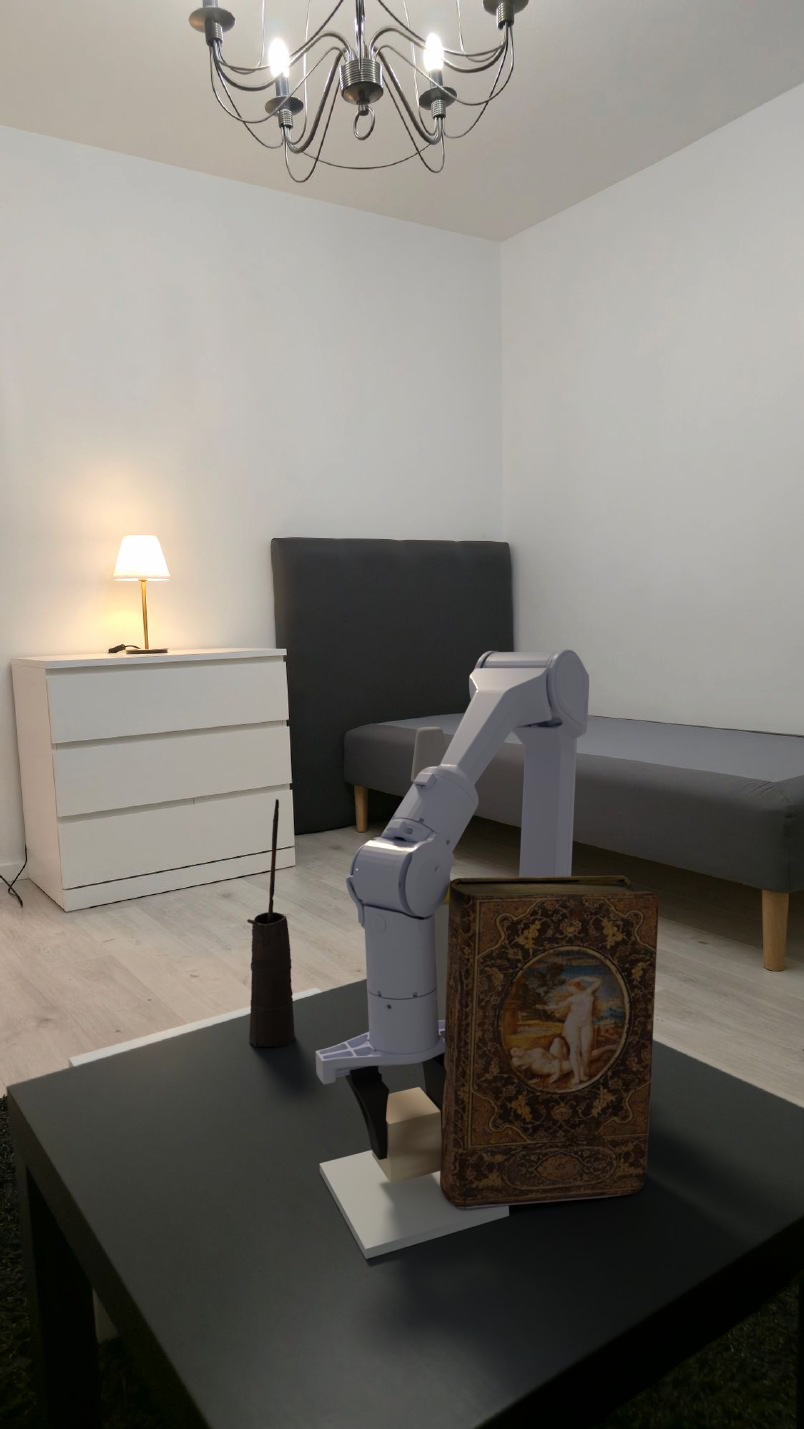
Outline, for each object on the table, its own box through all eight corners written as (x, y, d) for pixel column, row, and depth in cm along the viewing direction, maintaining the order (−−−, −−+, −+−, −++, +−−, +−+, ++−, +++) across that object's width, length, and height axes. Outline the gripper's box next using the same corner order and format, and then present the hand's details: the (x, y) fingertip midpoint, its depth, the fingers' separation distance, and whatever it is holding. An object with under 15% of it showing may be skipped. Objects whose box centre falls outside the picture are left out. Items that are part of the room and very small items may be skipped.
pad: (446, 1139, 83) (445, 1131, 83) (509, 1215, 72) (508, 1206, 72) (319, 1172, 78) (319, 1163, 78) (365, 1259, 67) (365, 1249, 67)
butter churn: (239, 1069, 98) (225, 813, 95) (214, 1036, 106) (200, 800, 104) (318, 1049, 102) (306, 803, 99) (288, 1018, 110) (277, 791, 108)
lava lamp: (492, 1012, 110) (483, 725, 107) (443, 1038, 104) (432, 733, 100) (436, 993, 116) (426, 722, 113) (386, 1017, 110) (375, 729, 107)
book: (448, 1210, 71) (459, 896, 69) (434, 1170, 76) (443, 878, 74) (645, 1194, 74) (660, 892, 72) (618, 1157, 79) (631, 875, 77)
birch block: (421, 1142, 78) (419, 1086, 78) (442, 1170, 74) (440, 1111, 74) (372, 1155, 77) (369, 1098, 76) (391, 1184, 72) (388, 1124, 72)
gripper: (461, 955, 80) (466, 1103, 81) (302, 984, 75) (309, 1141, 76) (499, 983, 73) (503, 1143, 75) (327, 1016, 68) (335, 1188, 69)
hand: (408, 1145), depth 75 cm, fingers closed on birch block, 4 cm apart
